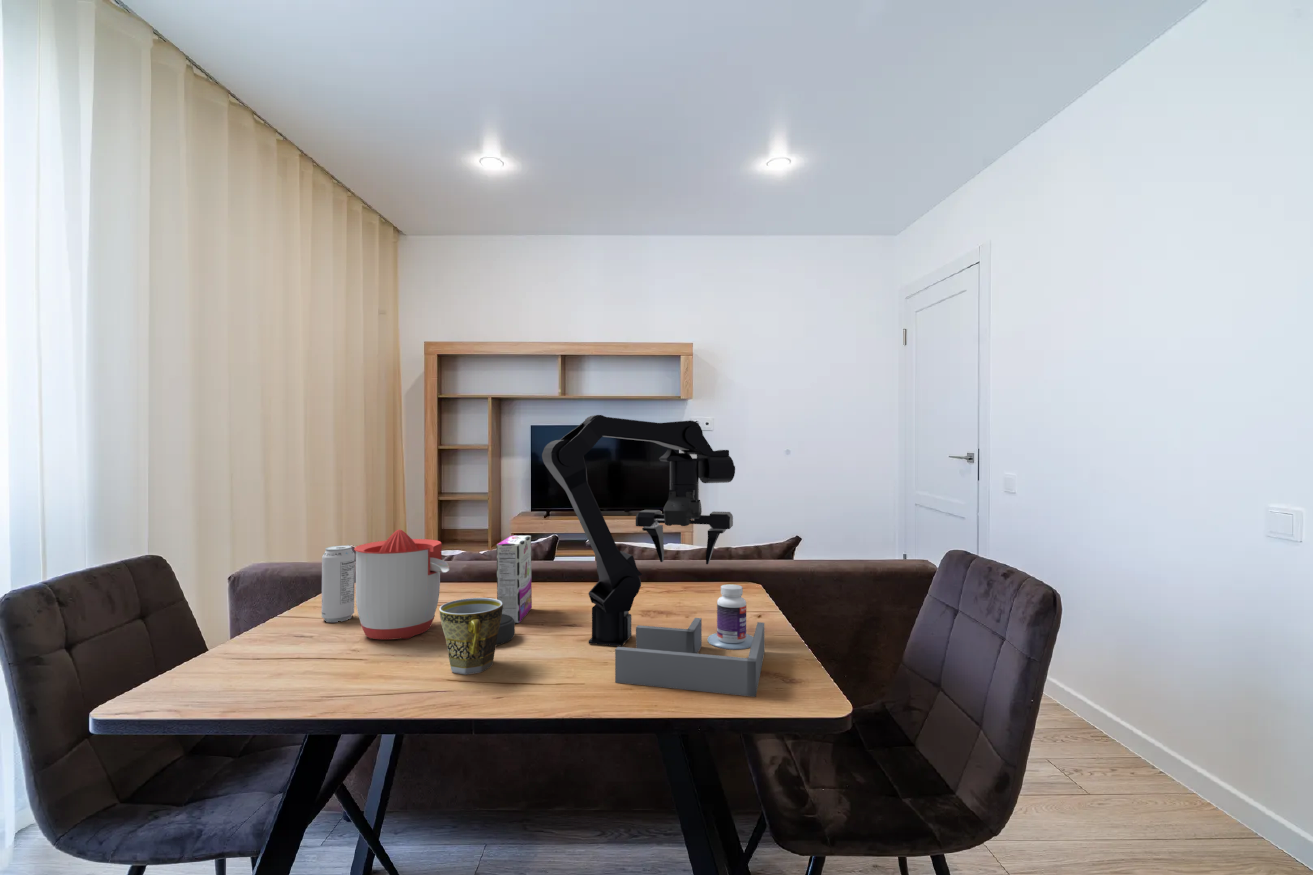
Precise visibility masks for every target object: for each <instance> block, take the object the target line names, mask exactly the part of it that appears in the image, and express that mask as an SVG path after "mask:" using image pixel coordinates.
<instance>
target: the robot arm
mask: <svg viewBox="0 0 1313 875" xmlns="http://www.w3.org/2000/svg"><path fill="white" fill-rule="evenodd" d="M601 438H612V439H614V438H615V439H623V440H631V441H632V440H634V441H642V442H643V441H644V442H650V443H655V444H657V445H659V446H662V447H665V448H668V449H667V450H666V452H664V453H663V455H661V456H660V457H659V461H660V462H669V491H668V498H667V501H666V503H665V505H664V506H663V513H662V511H661V510H660V509H644V510H641V511H639V512H638V511H637V512H638V513H636V515H635V527H639V528H640V527H641V530H642V531H643V532H646V533H647V534H649V536H650V538H651V540H652V543H653V545H654V547H655V550H656V554H657V557H658V559H659V561H660V563H663V562H664V559H665V546H664V525H666V526H669V527H671V526H673V525H674V526H681V527H687V526H689V525H708V526H709V529H708V530H707V541H706V552H705V564H706V565H709V564H710V561H711V559H712V554H713V552H714V548H715V546H716V543H717V541H718V539H719V537H720V534H724V533H725V532H726V531H727V530H731V528H733V526H734V516H733V514H732V513H731V511H712V512H710V513H709V514H702V512H703V511H702V504H701V500H700V499H699V497H700V496H699V494H700V492H699V491H700V490H699V487H700V486H699V482H701V483H703V484H723V483H731V482H732V481H733V479H734V477H735V474H736V465H735V463H734V460H733V459H732V457H731V456H730V450H729V449H718V450H714V449H713V448H712V446H711V445H710V444H709V441H708V440H707V439H706V437H705V436H704V432H703V429H702V427H701V426H700V423H699V422H697V421H694V420H683V421H682V420H680V421H669V422H667V421H666V422H654V421H653V422H652V421H644V420H636V419H635V420H634V419H627V418H619V417H610V416H606V415H602V414H595V415H594V414H593V415H590V416H588V417H586V418H585V420H584V421H582V423H580V424H579V425H578V426H576V427H575V428H573V429H572V430H570V431H569V432H568V433H566V434H565V435H564V436H563V437H561V438H559V439H556V440H551V441H550V442H548V443H547V444H546V445H545V446H544V448H543V451H542V453H541V458H542V462H543V464H544V465H545V467H546V469H547V470H548V471H549V473H550V474H551V475H552V477H553V479H555V481H556V482H557V483H558V484H559V485H560V486H561V488H562V489H563V490H564V491H565V493H566V495H567V497H568V499H569V501H570V504H571V506H572V508H573V511H574V513H575V515H576V517H577V519H578V521H579V523H580V525H581V527H582V530H583V531H584V534H585V536H586V538H587V541H588V542H589V544H590V547H591V549H592V551H593V553H594V556H595V560H596V572H597V575H598V581H597V582H596V583H595V584H594V586H593V587H592V588H591V589H590V591H588V596H589V599H590V602H591V603H592V604H594V605H593V606H592V607H591V637H590V639H588V644H590V645H598V646H599V645H601V646H611V647H612V646H613V647H624V644H626V642H627V641H628V640H629V639H630V638H631V637H632V634H633V633H632V614H631V613H629V612H630V611H631V610H632V606H633V604H634V600H635V597H637V595H638V593H639V592H640V589H641V587H642V581H641V577H642V575H643V573H641V571H640V570H639V569H638V567H637V564H636V560H635V557H634V555H632V554H629V553H627V552H625V551H622V550H619V548H618V546H617V544H616V542H615V539H614V538H613V535H612V533H611V531H610V529H609V527H608V524H607V522H606V520H605V517H604V515H603V514H602V510H601V509H600V506H599V504H598V502H597V500H596V498H595V496H594V493H593V492H592V489H591V486H590V485H589V481H588V473H587V469H588V468H587V464H586V460H585V457H584V456H585V455H587V454H588V452H590V451H591V450H592V449H593V448H594V446H595V445H596V444H597V443H598V442H599V441H600V439H601ZM675 450H676V451H681V452H676V451H675ZM692 455H696V457H692ZM699 480H700V481H699ZM663 524H664V525H663ZM640 576H641V577H640Z"/></svg>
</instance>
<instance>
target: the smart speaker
mask: <svg viewBox="0 0 1313 875" xmlns="http://www.w3.org/2000/svg"><path fill="white" fill-rule="evenodd" d="M515 624H516V623H515V621H514V619H513V618H512V617H511V616H509V615H506V614H502V617H501V622H500V627H499V631H498V636H497V642H496V646H499V645H503V644H506V643H508V642H510V641H511V640H512V639H514V637H515V634H516V632H515V631H516V630H515V629H516V627H515Z"/></svg>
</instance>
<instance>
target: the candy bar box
mask: <svg viewBox="0 0 1313 875" xmlns="http://www.w3.org/2000/svg"><path fill="white" fill-rule="evenodd" d="M496 593H497V594H496V599H497V600H500V601H502V602H503V610H502V614H506V615H509V616H511V617H512V618H513V619H514V621H515V624H520V623H521V622H522V621H523V619H524V618H525V617H526V616H527V615H528V613H529V612H530V611H531V609H532V608H533V604H532V603H533V602H532V598H533V597H532V593H533V592H532V535H523V534H521V535H519V534H518V535H517V534H515V535H510V536H508V537H506V538H505V539H503V540H502V541H500V542H499V543H497V544H496Z"/></svg>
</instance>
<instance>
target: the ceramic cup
mask: <svg viewBox="0 0 1313 875" xmlns="http://www.w3.org/2000/svg"><path fill="white" fill-rule="evenodd" d="M438 610H439V618H440V623H441V627H442V631H443V635H444V638H445V642H446V647H447V655H448V659H449V665H450V670H451V672H452V673H454V674H459V675H464V676H465V675H466V676H467V675H473V674H479V673H482V672H484V671H487V670H488V669H490V668H491V667H492V666H493V664H494V658H495V652H496V647H497V645H496V642H497V636H498V631H499V627H500V622H501V617H502V610H503V602H502V601H500V600H497V598H489V597H472V598H471V597H470V598H462V599H457V600H456V599H455V600H451V601H449V602H446V603H444V604H442V605H440V606H439V609H438Z"/></svg>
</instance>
